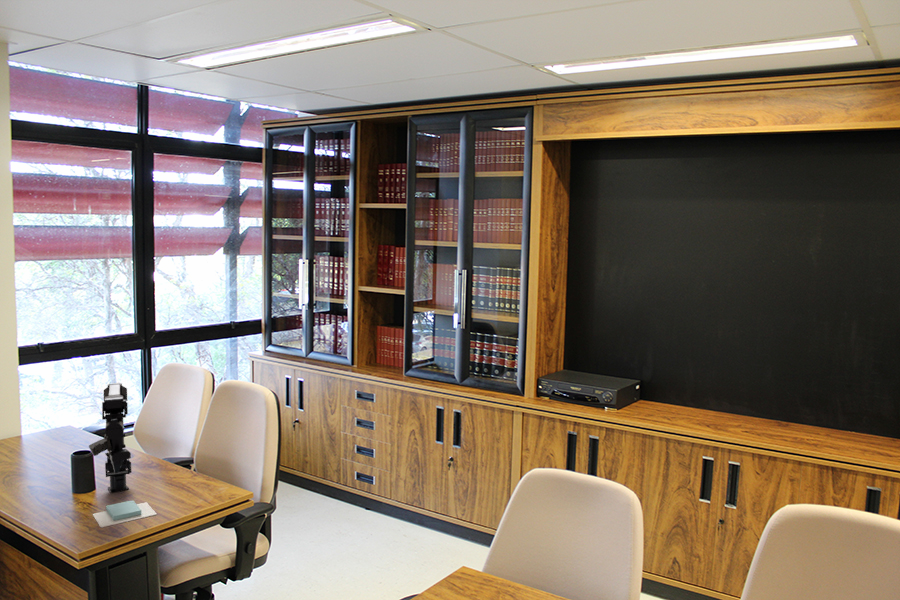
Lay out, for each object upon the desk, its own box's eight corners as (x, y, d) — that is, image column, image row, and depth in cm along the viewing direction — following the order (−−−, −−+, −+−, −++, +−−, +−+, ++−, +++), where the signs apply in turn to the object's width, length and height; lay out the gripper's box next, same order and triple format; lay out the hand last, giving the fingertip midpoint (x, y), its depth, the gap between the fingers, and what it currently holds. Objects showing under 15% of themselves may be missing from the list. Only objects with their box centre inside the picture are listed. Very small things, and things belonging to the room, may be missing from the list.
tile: (106, 505, 239) (113, 516, 229) (133, 500, 244) (141, 510, 235) (106, 510, 239) (113, 521, 230) (133, 504, 244) (141, 514, 235)
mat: (92, 514, 236) (92, 513, 236) (146, 502, 247) (146, 502, 247) (100, 527, 225) (100, 526, 225) (156, 514, 236) (156, 514, 236)
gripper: (85, 429, 245) (86, 470, 246) (95, 441, 230) (97, 485, 232) (118, 424, 252) (119, 463, 253) (130, 435, 237) (131, 478, 239)
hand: (116, 472), depth 244 cm, fingers closed
